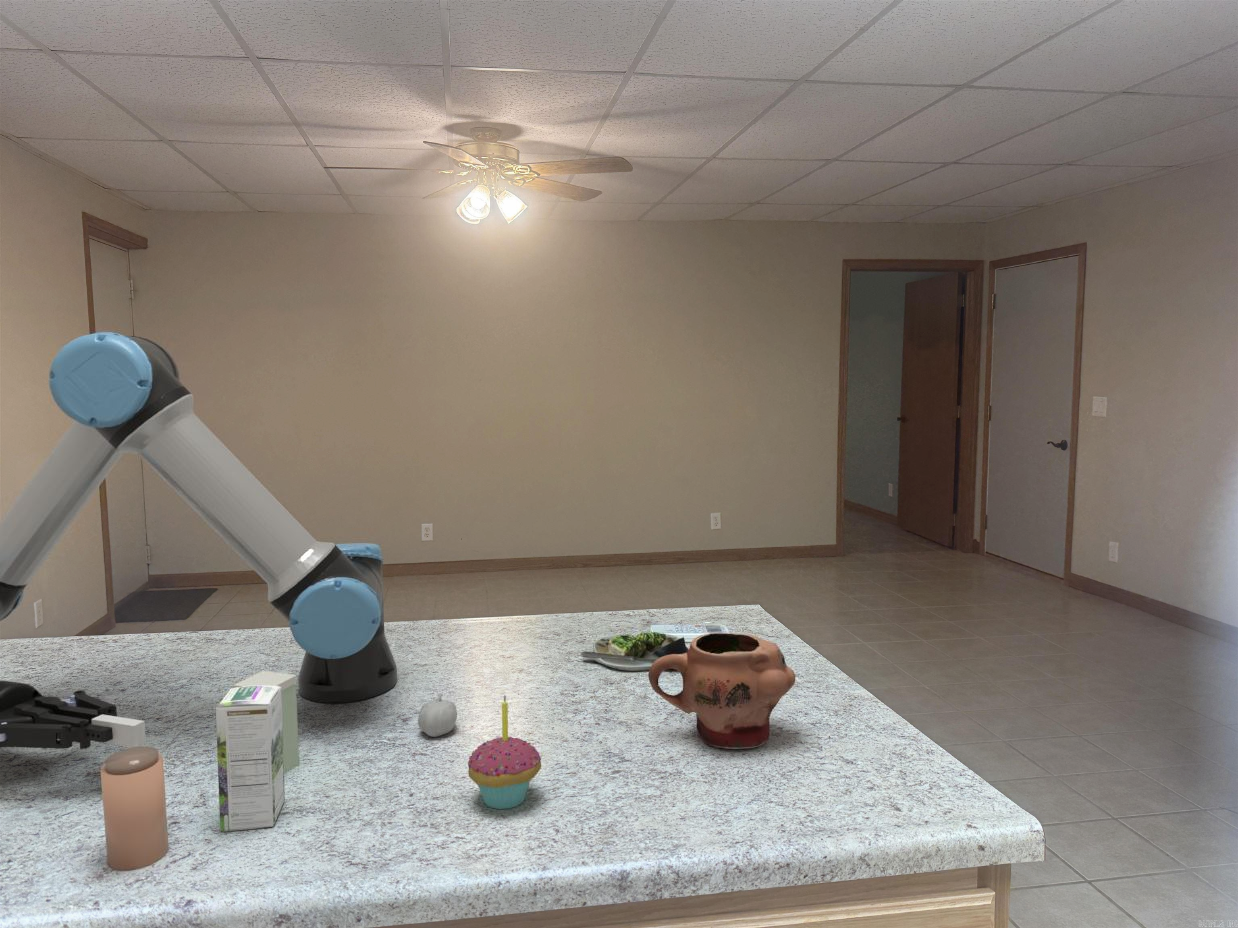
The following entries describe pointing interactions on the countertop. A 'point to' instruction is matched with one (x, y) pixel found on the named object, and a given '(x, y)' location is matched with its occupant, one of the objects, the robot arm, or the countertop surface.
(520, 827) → the countertop surface
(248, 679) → the tea tin
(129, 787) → the canister
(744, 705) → the brown clay mug
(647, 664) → the salad plate
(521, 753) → the cupcake
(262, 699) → the syrup box
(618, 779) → the countertop surface
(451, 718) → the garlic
